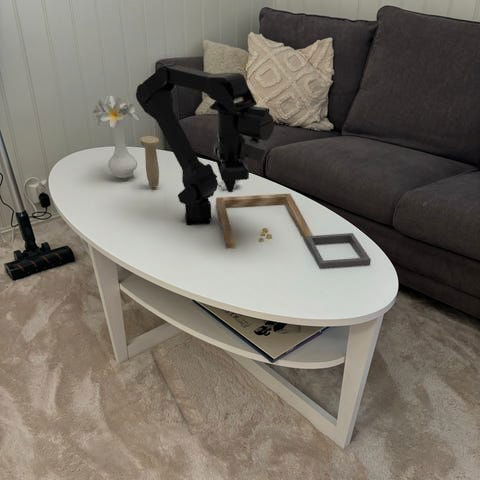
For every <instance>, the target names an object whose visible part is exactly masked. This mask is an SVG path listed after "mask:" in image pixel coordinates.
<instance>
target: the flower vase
mask: <svg viewBox="0 0 480 480" xmlns="http://www.w3.org/2000/svg"><path fill="white" fill-rule="evenodd" d="M97 100H98V101H97V103H96V104H95V109H93V110H92V114H96V116H95V118H94V120H95V122H96V128H98V127H99V125H100V123H101V122H108V121H109V126H110V128H111V129H112V130H113V136H114V138H113V139H114V151H113V155H112V156H111V157H110V158H109V159H108V162H107V167H108V170H110V172H111V173H113V174H114V176H115V177H116V178H122V179H123V178H130V177H131V176H133V175H134V172H135V170H136V169H137V168H138V161H137V159H136V158H135V157H134V156H133V155H132V154H131V153H130V152H129V150H128V148H127V145H126V138H125V133H124V120H125V115H128V116H129V117H131V118H133V119H134V120H136V121H138V122H139V121H140V120H139V118H138V116H137V115H136V114H135V112H136V108H135V107H134V105H133V103H131V102H130V100H129V98H128V97H126V102H125V103H124V102H123V99H122V98H121V97H120V96H119V97H116V99H115V97H114V96H113V95H110V96H109V95H107V96H106V97H105V100H104V99H103V98H102V97H100V98H98V99H97ZM115 100H116V101H115Z"/></svg>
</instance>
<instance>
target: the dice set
mask: <svg viewBox="0 0 480 480" xmlns="http://www.w3.org/2000/svg"><path fill="white" fill-rule="evenodd" d="M268 233H269V229H268V228H267V227H264V228H262V231H261V232H260V236H261V237H259V238H258V242H259V243H263V242H265V238H263V237H265V236H266V239H268V240H271V239H273V234H270V233H269V234H268Z"/></svg>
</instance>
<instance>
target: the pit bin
mask: <svg viewBox="0 0 480 480" xmlns="http://www.w3.org/2000/svg"><path fill="white" fill-rule="evenodd" d="M334 244H335V245H336V244H337V245H338V244H349V245H350V246H351V247H352V249H353V250H354V252H355V253H356V254H357V256H358V257H355V258H354V257H353V258H352V257H351V258H340V259H329V260H328V259H327V260H326V259H325V260H324V258H323V256H322V255H321V253H320V251H319V249H318V247H317V246H321V245H334ZM305 245H306V246H307V249H308V250H309V252H310V254H311V255H312V257H313V259H314V261H315V262H316V264H317V266H318V268H319V269H334V268H349V267H352V268H353V267H363V266H366V267H367V266H371V261H372V260H371V258H370V256H369V254H368V253H367V251H366V250H365V249H364V247H363V246H362V244H361V243H360V242H359V239H357V237H356V236H355V235H354V233H353V232H348V233H346V232H345V233H334V234H321V235H319V234H318V235H313V236H307V237H306V243H305Z"/></svg>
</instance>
